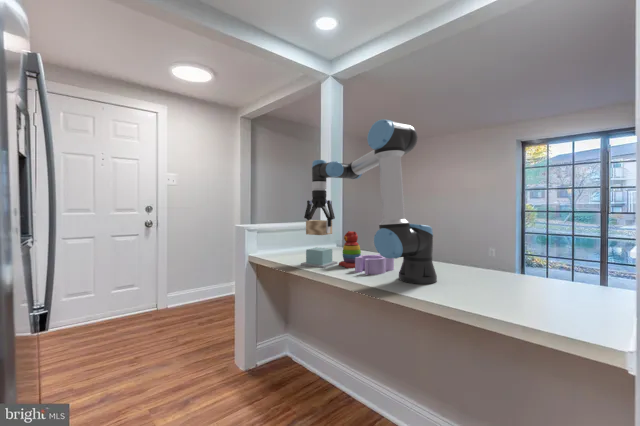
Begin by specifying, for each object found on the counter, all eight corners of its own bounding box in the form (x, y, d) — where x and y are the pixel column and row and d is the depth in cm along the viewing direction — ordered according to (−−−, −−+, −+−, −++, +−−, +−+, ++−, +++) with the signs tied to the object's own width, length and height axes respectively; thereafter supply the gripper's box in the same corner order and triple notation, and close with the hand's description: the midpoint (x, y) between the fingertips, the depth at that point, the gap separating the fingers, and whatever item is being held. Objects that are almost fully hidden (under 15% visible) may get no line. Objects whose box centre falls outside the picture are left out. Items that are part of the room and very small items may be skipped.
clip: (380, 266, 161) (380, 253, 161) (400, 270, 151) (400, 256, 151) (351, 271, 150) (351, 256, 149) (370, 276, 139) (370, 260, 139)
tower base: (337, 263, 169) (337, 248, 168) (323, 267, 157) (323, 251, 156) (315, 261, 176) (315, 246, 176) (300, 265, 164) (300, 249, 164)
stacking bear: (337, 264, 165) (337, 230, 164) (354, 263, 169) (354, 230, 169) (347, 268, 155) (347, 232, 155) (365, 266, 159) (365, 231, 159)
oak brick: (332, 233, 168) (332, 220, 167) (322, 235, 159) (322, 221, 159) (316, 232, 173) (316, 220, 173) (305, 234, 164) (305, 220, 164)
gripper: (341, 189, 163) (341, 233, 163) (305, 190, 174) (305, 230, 175) (334, 189, 156) (334, 234, 157) (297, 190, 168) (297, 231, 169)
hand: (319, 232), depth 166 cm, fingers closed on oak brick, 10 cm apart
